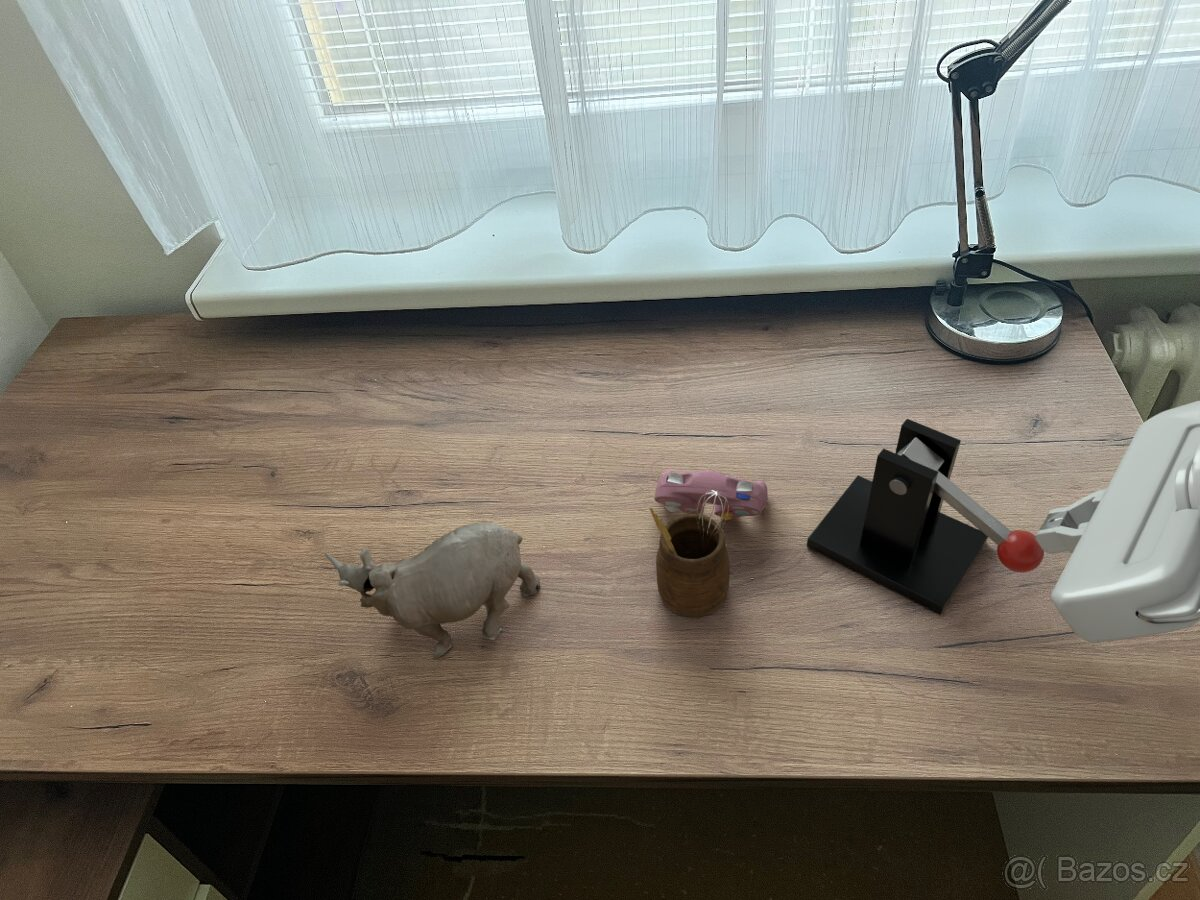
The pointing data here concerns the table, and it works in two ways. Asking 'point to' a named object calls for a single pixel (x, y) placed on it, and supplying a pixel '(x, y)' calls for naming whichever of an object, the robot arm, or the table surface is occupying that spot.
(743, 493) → the pink toy car
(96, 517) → the table surface
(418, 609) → the rhinoceros figurine
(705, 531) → the utensil holder
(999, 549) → the lever
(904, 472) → the bracket
